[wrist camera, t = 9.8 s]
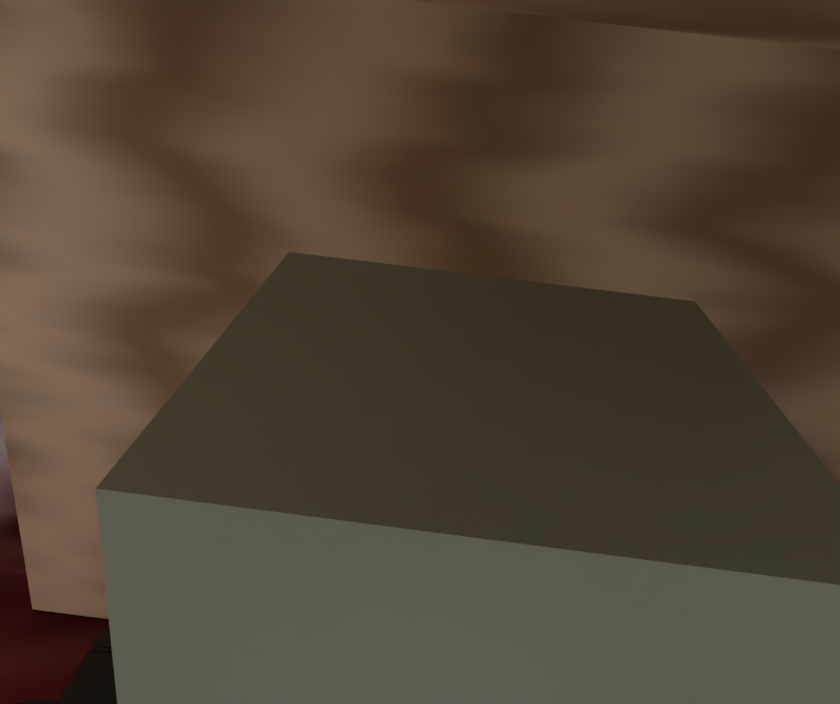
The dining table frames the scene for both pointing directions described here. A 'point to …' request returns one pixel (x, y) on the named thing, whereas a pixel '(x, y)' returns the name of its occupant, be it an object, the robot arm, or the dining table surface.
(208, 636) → the tall block
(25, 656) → the dining table surface
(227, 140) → the cubby box
